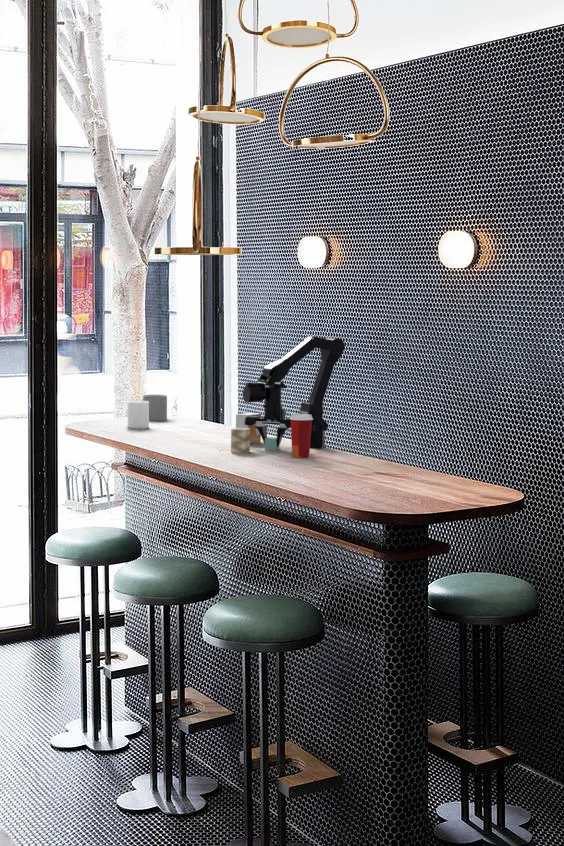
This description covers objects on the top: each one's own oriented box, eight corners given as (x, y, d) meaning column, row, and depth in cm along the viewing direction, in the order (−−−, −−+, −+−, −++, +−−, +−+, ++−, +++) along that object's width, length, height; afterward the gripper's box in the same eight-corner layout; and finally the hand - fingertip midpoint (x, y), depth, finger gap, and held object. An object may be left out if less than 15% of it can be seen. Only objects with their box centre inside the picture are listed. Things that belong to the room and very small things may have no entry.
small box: (247, 444, 382) (247, 415, 381) (235, 443, 385) (235, 413, 384) (261, 442, 388) (261, 413, 387) (249, 440, 392) (249, 412, 390)
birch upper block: (250, 439, 366) (250, 428, 365) (245, 441, 361) (245, 430, 360) (236, 439, 367) (236, 427, 367) (231, 440, 362) (231, 429, 362)
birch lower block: (249, 451, 366) (249, 439, 366) (244, 453, 361) (244, 441, 361) (236, 450, 368) (236, 439, 367) (230, 452, 363) (231, 440, 362)
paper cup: (314, 455, 359) (315, 414, 357) (309, 459, 351) (309, 416, 350) (292, 454, 361) (292, 413, 359) (286, 457, 353) (286, 415, 352)
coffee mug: (171, 420, 449) (171, 396, 448) (150, 421, 443) (150, 397, 442) (154, 416, 460) (154, 393, 458) (134, 418, 453) (134, 394, 452)
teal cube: (279, 449, 373) (279, 437, 372) (275, 450, 369) (275, 439, 369) (268, 448, 374) (268, 436, 374) (264, 449, 370) (264, 438, 370)
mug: (118, 426, 426) (118, 400, 425) (136, 424, 431) (136, 399, 430) (134, 429, 417) (134, 403, 416) (152, 428, 422) (152, 402, 421)
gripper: (305, 400, 374) (304, 445, 376) (254, 398, 380) (254, 441, 382) (296, 403, 364) (295, 449, 366) (244, 401, 369) (243, 446, 371)
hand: (272, 446), depth 371 cm, fingers closed on teal cube, 4 cm apart
